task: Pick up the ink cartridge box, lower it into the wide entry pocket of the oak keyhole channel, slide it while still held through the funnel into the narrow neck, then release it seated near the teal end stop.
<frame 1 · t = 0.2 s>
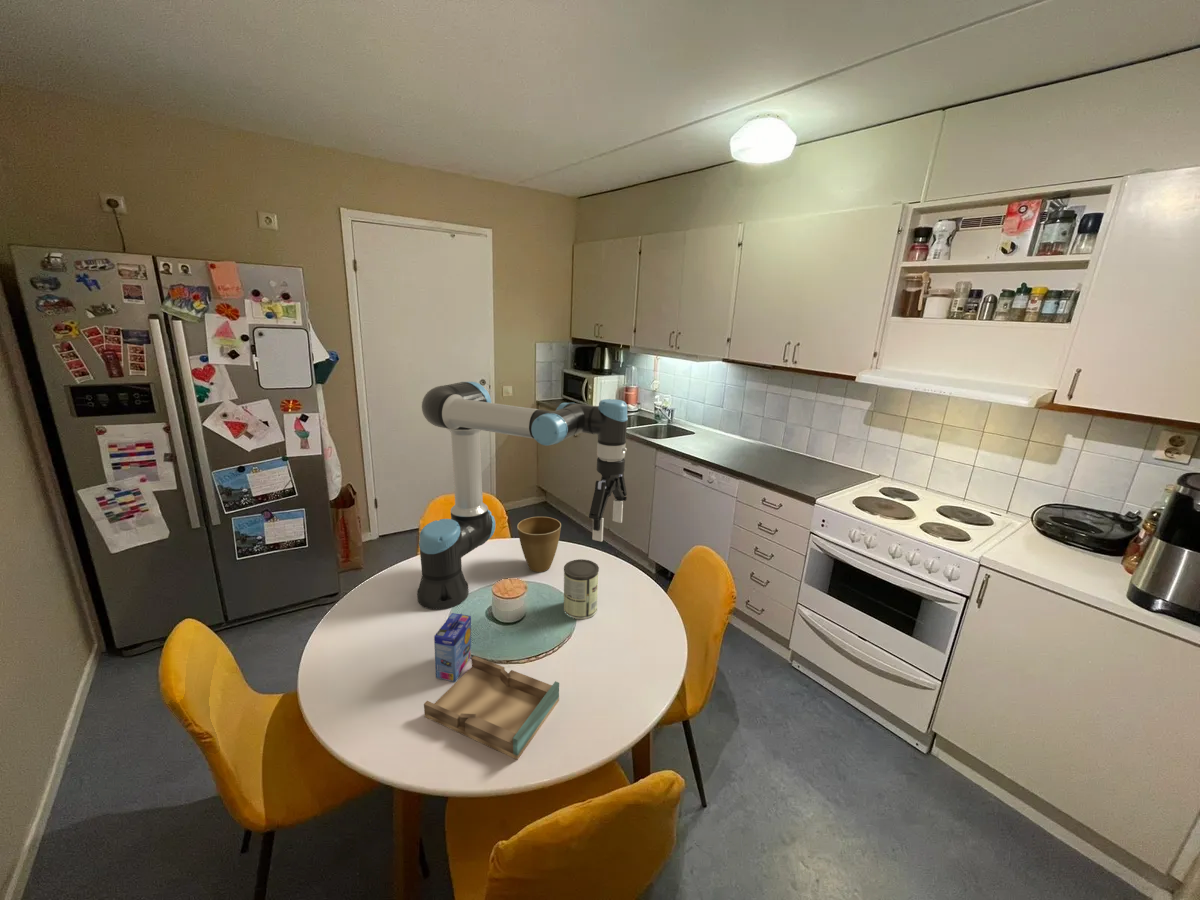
hand: (607, 530, 135), 28 cm above the table, fingers open, 13 cm apart
keyhole channel: (493, 708, 108), on the table
plant pot: (539, 567, 169), on the table
coffee can: (580, 609, 145), on the table
ink cartridge box: (454, 667, 120), on the table
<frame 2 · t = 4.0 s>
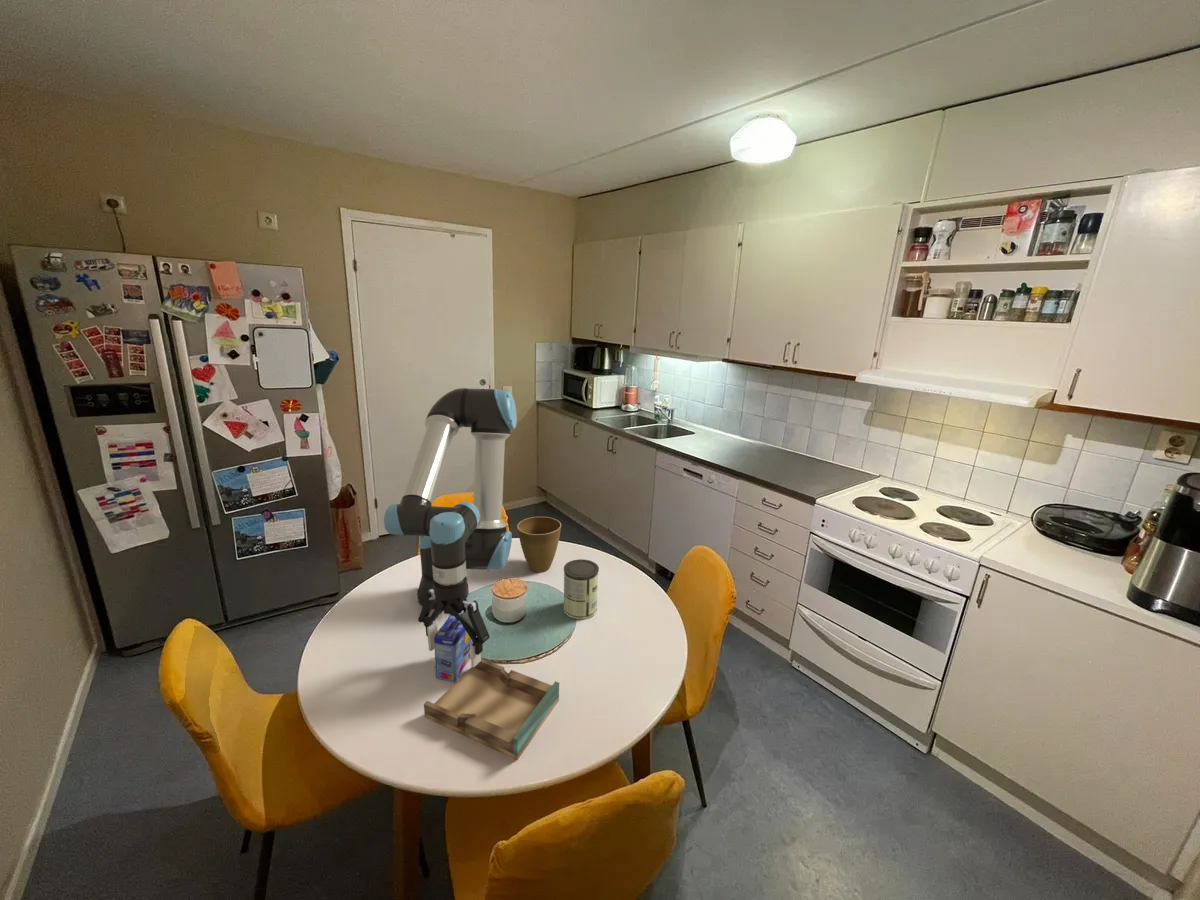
hand: (454, 655, 119), 4 cm above the table, fingers open, 12 cm apart
nothing on the table moved.
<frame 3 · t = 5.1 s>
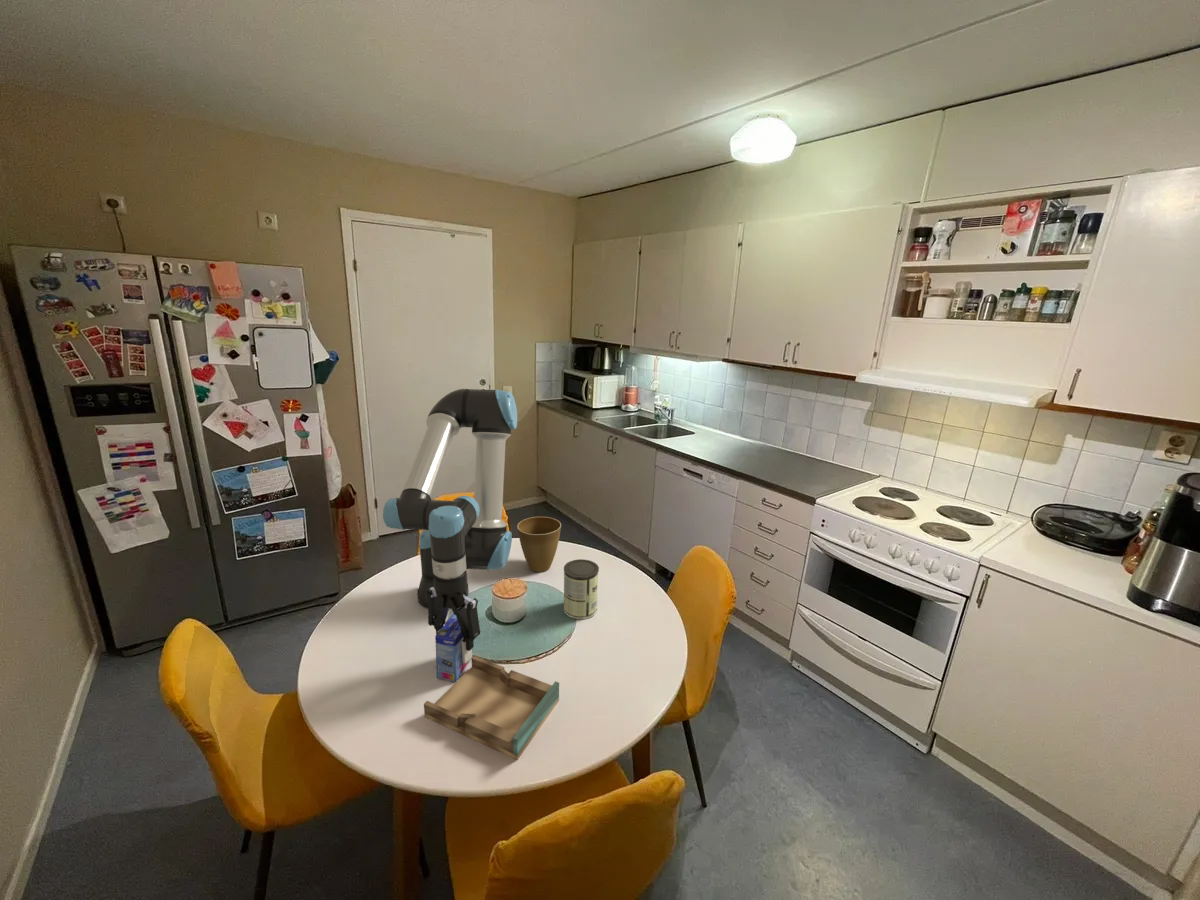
hand: (455, 654, 119), 4 cm above the table, fingers open, 6 cm apart
ink cartridge box: (456, 667, 120), on the table, touching gripper
everything else where it was.
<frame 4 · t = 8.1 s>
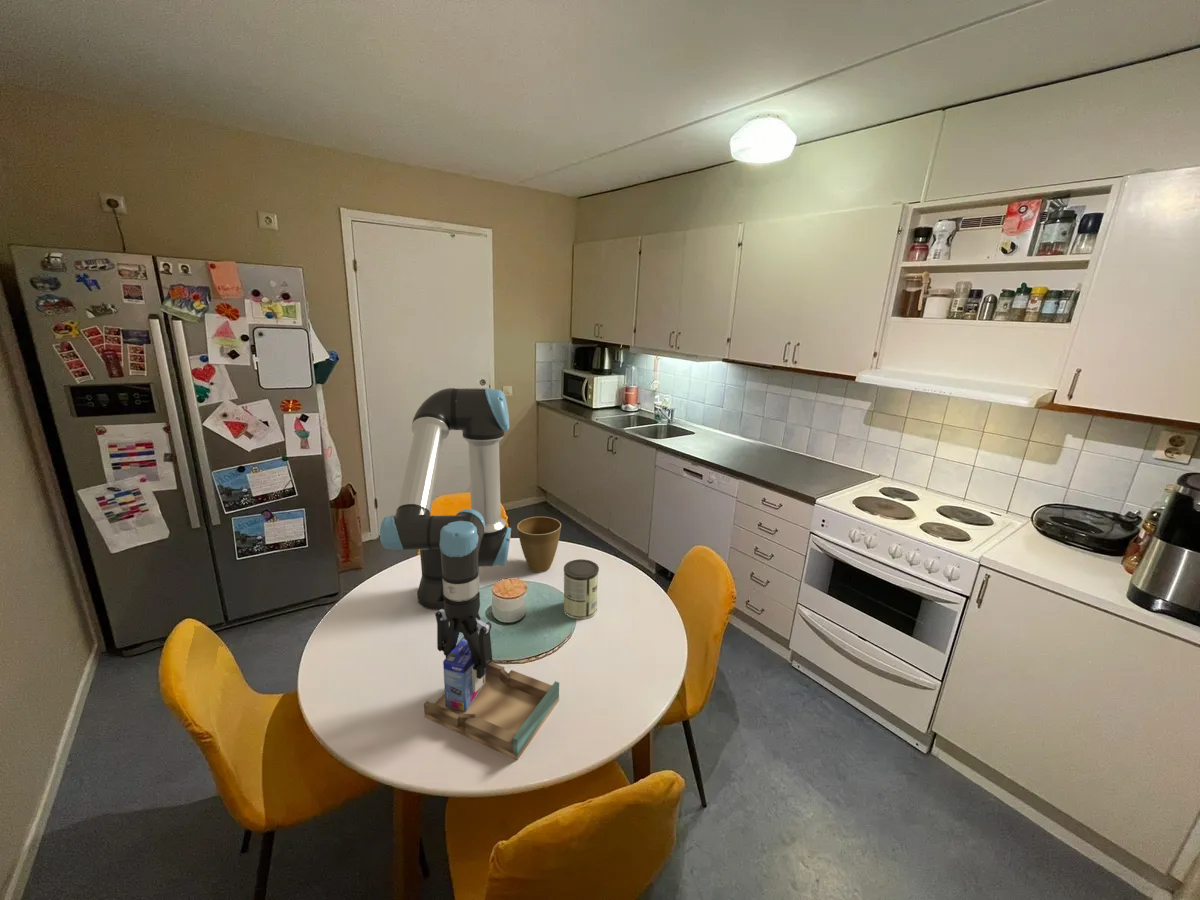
hand: (465, 682, 109), 4 cm above the table, fingers closed on ink cartridge box, 6 cm apart
ink cartridge box: (467, 694, 110), point 1 cm above the table, touching gripper, keyhole channel
everything else where it was.
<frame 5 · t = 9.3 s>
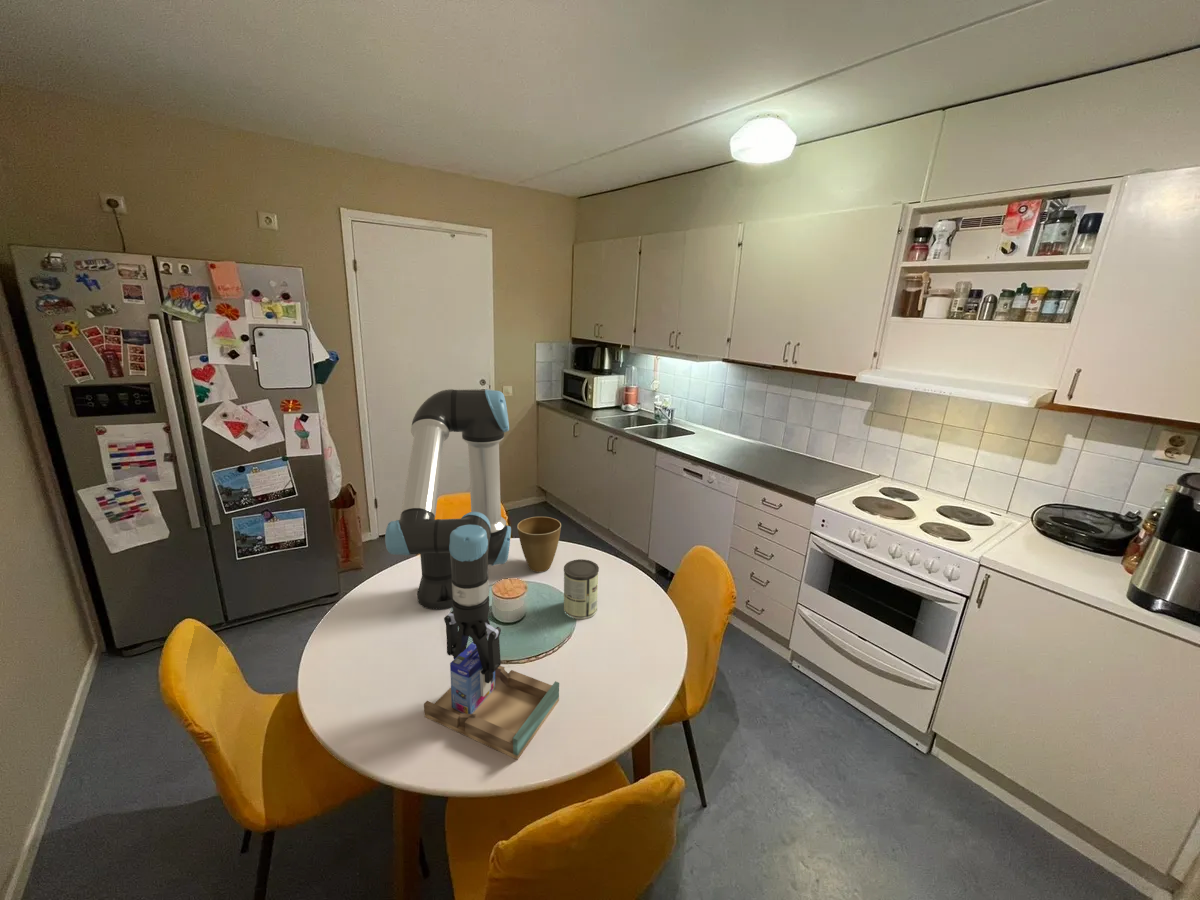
hand: (474, 687, 109), 4 cm above the table, fingers closed on ink cartridge box, 5 cm apart
ink cartridge box: (474, 698, 109), point 1 cm above the table, touching gripper, keyhole channel
everything else where it was.
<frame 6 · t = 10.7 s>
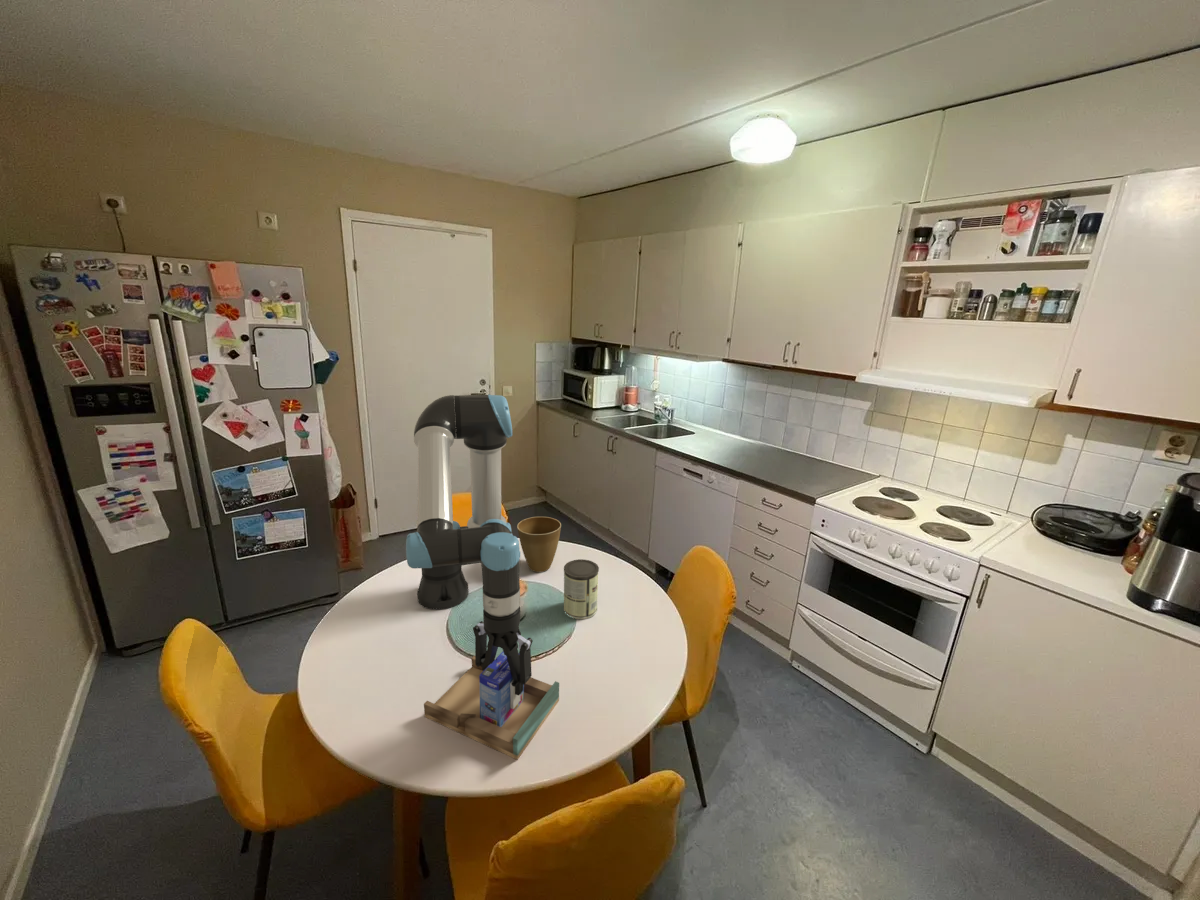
hand: (503, 699, 106), 4 cm above the table, fingers closed on ink cartridge box, 5 cm apart
ink cartridge box: (503, 711, 106), point 1 cm above the table, touching gripper
everything else where it was.
when the fingers open (3 cm above the table, at t = 12.5 s): ink cartridge box stays where it is, resting on keyhole channel.
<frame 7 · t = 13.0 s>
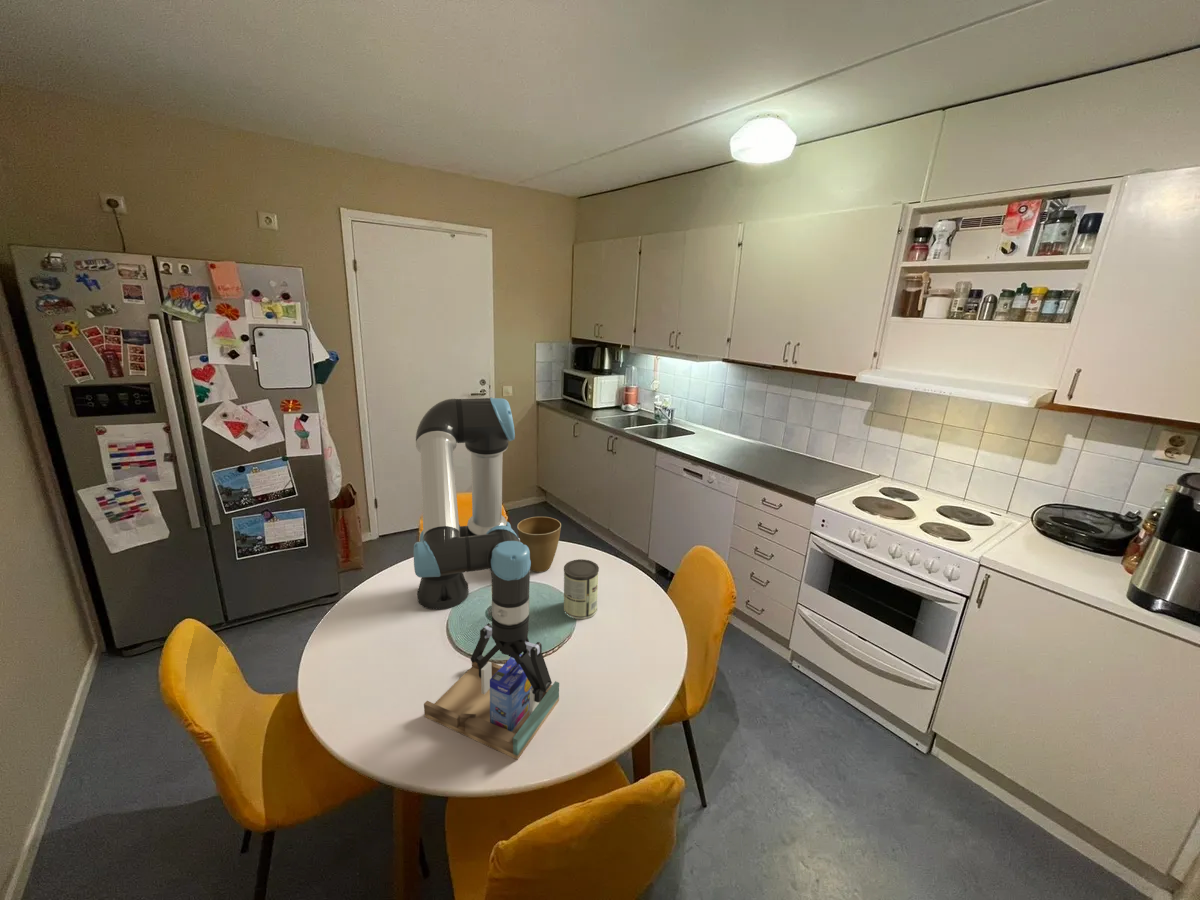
hand: (509, 700, 105), 4 cm above the table, fingers open, 12 cm apart
ink cartridge box: (513, 715, 105), point 1 cm above the table, touching keyhole channel
everything else where it was.
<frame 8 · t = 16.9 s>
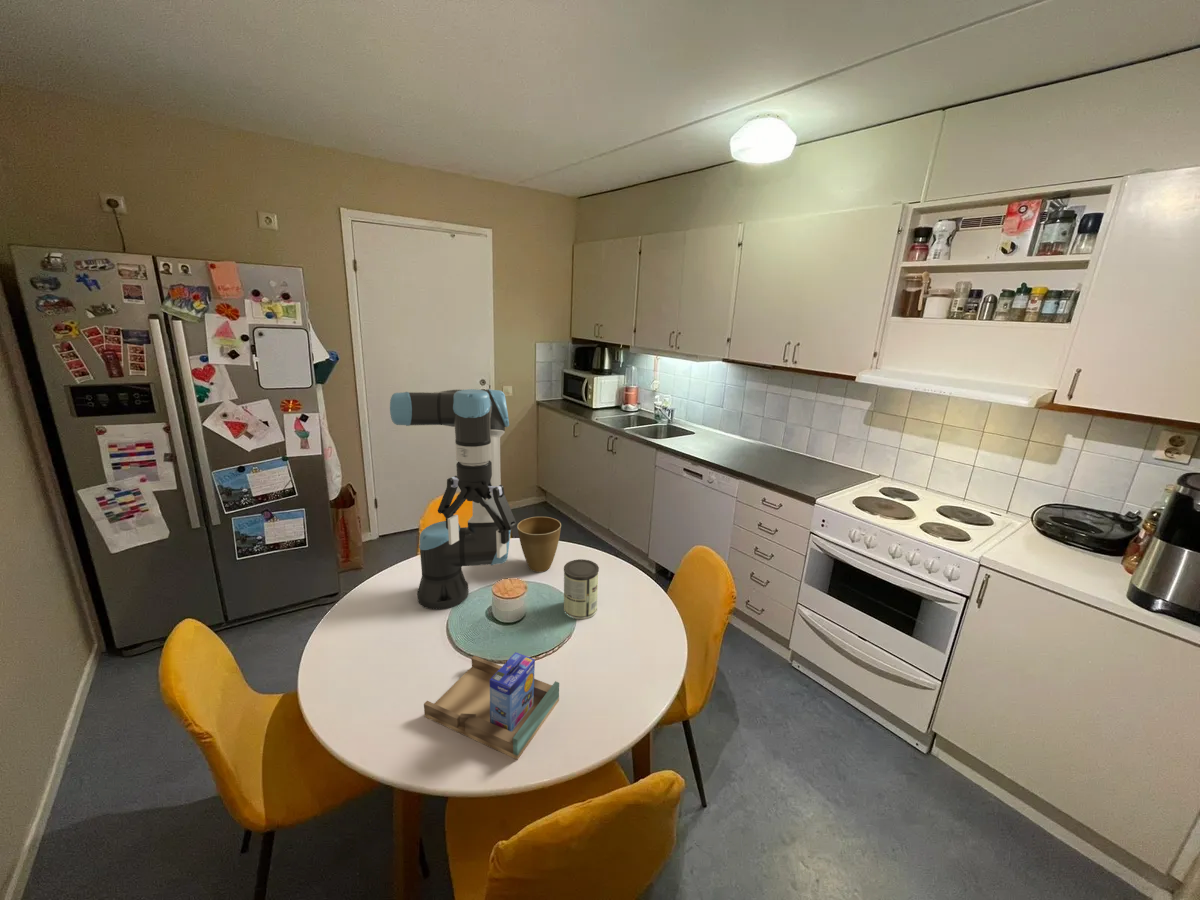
hand: (477, 548, 112), 33 cm above the table, fingers open, 13 cm apart
nothing on the table moved.
at the end: ink cartridge box 0.8 cm from the target spot on the keyhole channel, point 0.8 cm above the keyhole channel's base; ink cartridge box tilted 0°; the gripper is holding nothing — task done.
